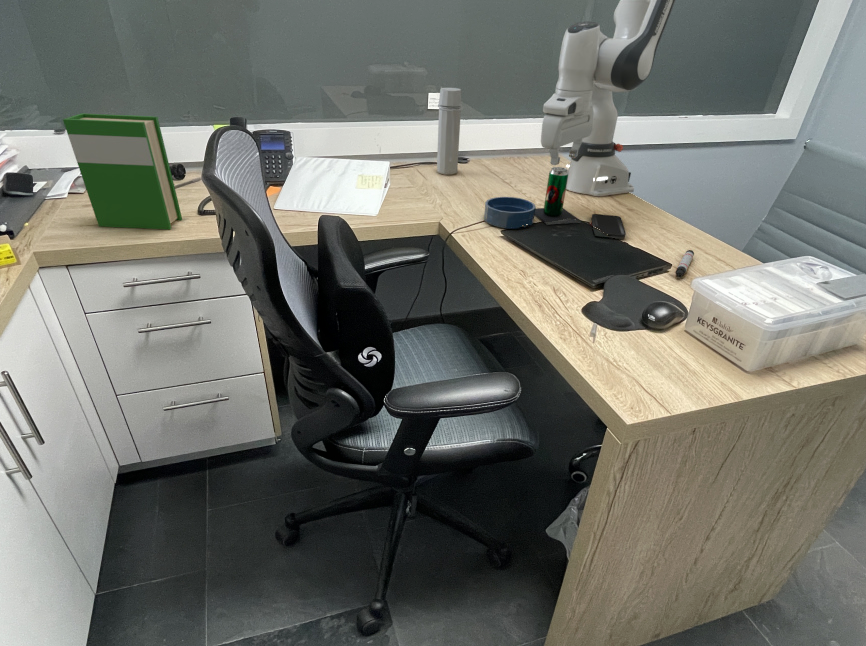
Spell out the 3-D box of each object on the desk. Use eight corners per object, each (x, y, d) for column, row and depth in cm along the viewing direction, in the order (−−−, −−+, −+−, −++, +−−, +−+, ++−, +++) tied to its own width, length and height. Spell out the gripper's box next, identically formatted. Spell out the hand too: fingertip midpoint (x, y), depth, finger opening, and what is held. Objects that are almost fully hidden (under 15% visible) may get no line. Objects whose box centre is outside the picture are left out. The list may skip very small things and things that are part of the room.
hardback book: (182, 219, 139) (157, 116, 124) (170, 229, 133) (142, 122, 118) (114, 216, 139) (81, 113, 125) (98, 226, 133) (62, 119, 119)
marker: (683, 256, 128) (686, 248, 127) (692, 258, 128) (695, 250, 127) (672, 279, 118) (674, 271, 116) (681, 282, 117) (684, 273, 116)
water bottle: (433, 170, 184) (435, 87, 170) (455, 169, 186) (459, 87, 171) (439, 177, 177) (443, 91, 163) (462, 176, 179) (468, 91, 164)
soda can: (562, 217, 147) (570, 172, 140) (544, 217, 147) (551, 171, 140) (560, 211, 151) (567, 167, 144) (541, 210, 151) (548, 166, 144)
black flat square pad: (561, 209, 155) (561, 206, 154) (580, 223, 145) (581, 221, 145) (528, 210, 153) (529, 208, 152) (546, 225, 143) (547, 223, 143)
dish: (521, 211, 152) (523, 195, 149) (541, 228, 141) (543, 211, 139) (477, 214, 149) (478, 198, 146) (493, 231, 138) (495, 214, 136)
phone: (620, 216, 147) (626, 235, 135) (619, 220, 148) (625, 239, 136) (591, 213, 148) (594, 232, 136) (590, 217, 149) (593, 236, 137)
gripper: (581, 94, 140) (572, 151, 149) (539, 105, 128) (532, 166, 136) (603, 97, 137) (593, 154, 145) (563, 109, 125) (554, 171, 133)
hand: (564, 160), depth 141 cm, fingers open, 8 cm apart
